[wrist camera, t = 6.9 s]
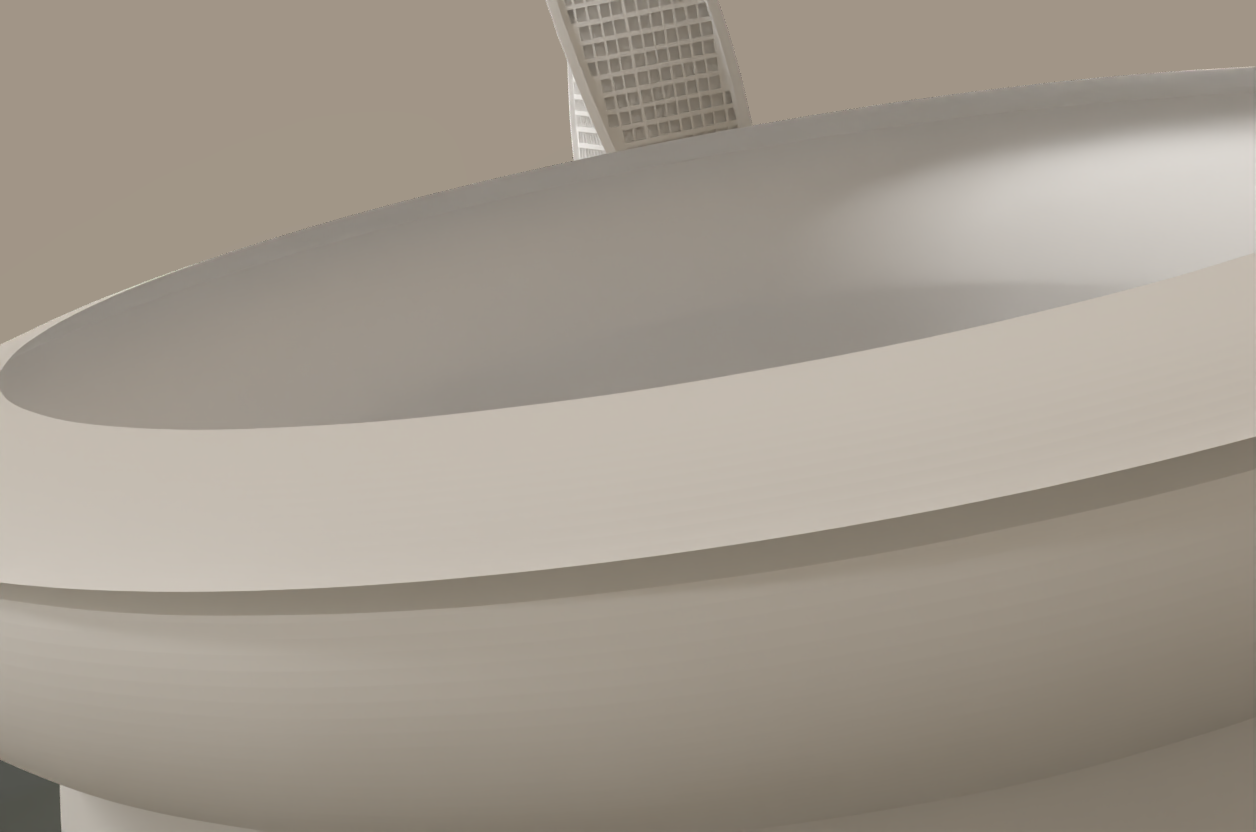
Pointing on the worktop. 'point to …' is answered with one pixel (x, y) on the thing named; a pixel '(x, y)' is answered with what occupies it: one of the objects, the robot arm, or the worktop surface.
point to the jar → (672, 493)
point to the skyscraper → (647, 72)
